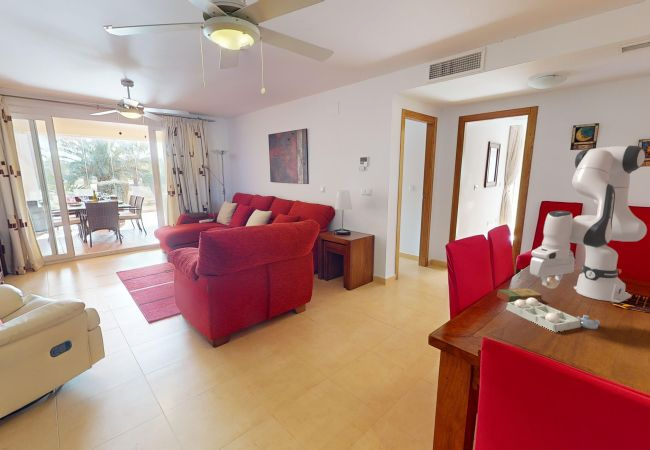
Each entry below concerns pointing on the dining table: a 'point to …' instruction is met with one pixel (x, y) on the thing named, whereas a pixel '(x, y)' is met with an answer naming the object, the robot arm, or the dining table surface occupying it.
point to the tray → (539, 315)
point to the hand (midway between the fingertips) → (550, 284)
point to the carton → (518, 294)
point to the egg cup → (588, 322)
